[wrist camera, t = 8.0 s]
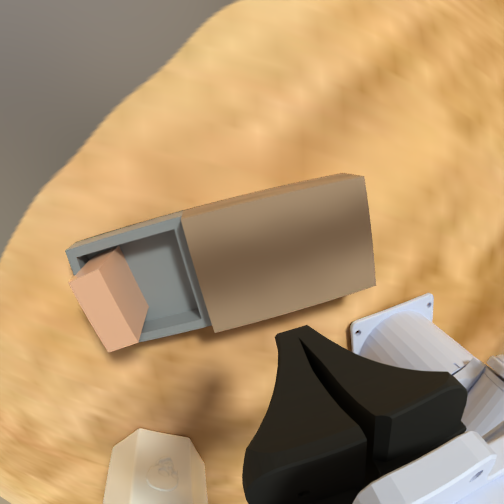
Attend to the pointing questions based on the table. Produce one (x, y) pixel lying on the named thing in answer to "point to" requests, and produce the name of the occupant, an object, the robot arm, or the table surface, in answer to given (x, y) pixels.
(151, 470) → the jar
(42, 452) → the table surface
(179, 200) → the table surface
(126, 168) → the table surface
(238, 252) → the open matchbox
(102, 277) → the peach flat square block
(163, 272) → the tray
